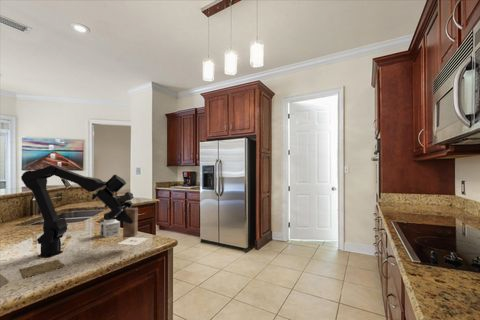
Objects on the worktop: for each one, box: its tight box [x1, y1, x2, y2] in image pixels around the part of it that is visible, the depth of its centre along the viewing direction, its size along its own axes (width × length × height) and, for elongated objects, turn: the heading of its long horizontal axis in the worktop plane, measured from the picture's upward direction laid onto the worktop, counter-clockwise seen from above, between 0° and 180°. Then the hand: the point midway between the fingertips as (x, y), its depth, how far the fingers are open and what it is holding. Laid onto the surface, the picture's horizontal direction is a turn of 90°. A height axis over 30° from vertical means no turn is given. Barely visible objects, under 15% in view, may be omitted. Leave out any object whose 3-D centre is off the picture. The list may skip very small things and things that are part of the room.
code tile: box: [117, 236, 149, 246], centre depth 117 cm, size 11×11×1 cm
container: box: [99, 211, 121, 238], centre depth 129 cm, size 8×8×13 cm
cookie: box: [19, 259, 66, 280], centre depth 87 cm, size 12×12×1 cm
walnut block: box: [122, 207, 139, 239], centre depth 106 cm, size 5×5×13 cm
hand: (133, 221), depth 107 cm, fingers closed on walnut block, 5 cm apart
